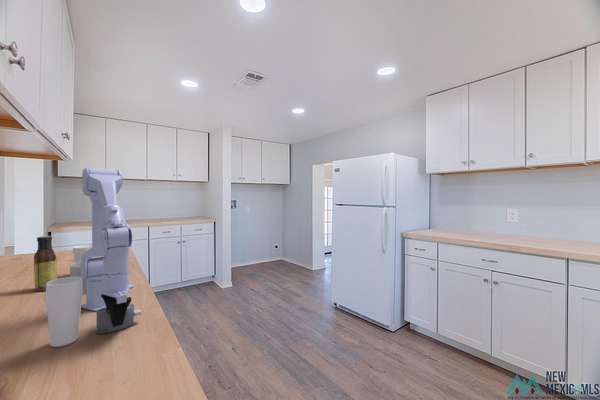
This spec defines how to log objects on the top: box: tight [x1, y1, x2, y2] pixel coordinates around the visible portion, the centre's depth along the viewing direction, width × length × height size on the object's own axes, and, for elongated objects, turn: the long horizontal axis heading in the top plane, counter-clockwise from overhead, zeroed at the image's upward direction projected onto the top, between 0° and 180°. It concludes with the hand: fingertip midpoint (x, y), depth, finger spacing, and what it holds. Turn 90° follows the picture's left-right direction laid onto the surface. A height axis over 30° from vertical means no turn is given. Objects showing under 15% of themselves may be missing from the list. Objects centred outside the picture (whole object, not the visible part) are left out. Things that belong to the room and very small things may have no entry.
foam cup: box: [72, 244, 99, 264], centre depth 120 cm, size 10×9×13 cm
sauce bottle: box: [33, 235, 58, 292], centre depth 102 cm, size 6×6×20 cm
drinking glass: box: [45, 276, 84, 348], centre depth 66 cm, size 7×7×15 cm
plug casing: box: [95, 303, 142, 335], centre depth 74 cm, size 10×4×5 cm, turn 134°
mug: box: [69, 262, 87, 295], centre depth 101 cm, size 11×10×10 cm
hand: (115, 322), depth 73 cm, fingers closed on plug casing, 4 cm apart
